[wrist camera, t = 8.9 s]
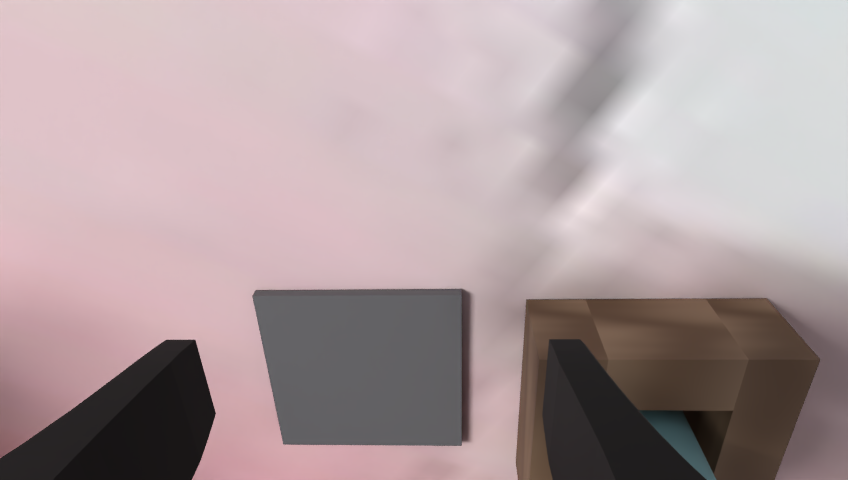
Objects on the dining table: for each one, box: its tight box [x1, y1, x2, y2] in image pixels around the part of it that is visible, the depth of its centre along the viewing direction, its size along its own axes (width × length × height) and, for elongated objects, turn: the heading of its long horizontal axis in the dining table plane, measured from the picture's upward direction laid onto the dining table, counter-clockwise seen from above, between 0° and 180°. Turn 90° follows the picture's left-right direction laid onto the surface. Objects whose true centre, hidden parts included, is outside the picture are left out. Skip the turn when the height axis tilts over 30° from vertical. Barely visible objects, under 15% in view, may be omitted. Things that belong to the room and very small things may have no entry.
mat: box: [253, 289, 462, 446], centre depth 24 cm, size 8×8×1 cm
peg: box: [639, 410, 716, 480], centre depth 20 cm, size 3×3×9 cm
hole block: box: [516, 298, 820, 480], centre depth 22 cm, size 9×9×4 cm
